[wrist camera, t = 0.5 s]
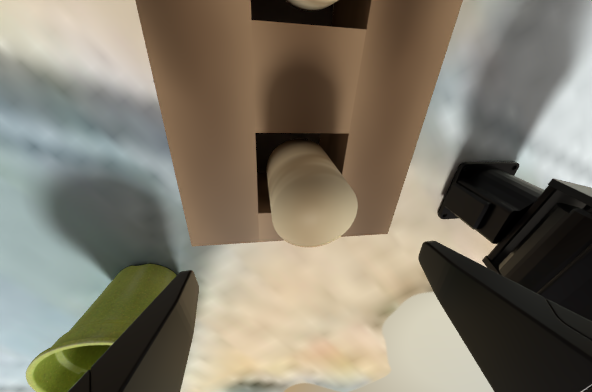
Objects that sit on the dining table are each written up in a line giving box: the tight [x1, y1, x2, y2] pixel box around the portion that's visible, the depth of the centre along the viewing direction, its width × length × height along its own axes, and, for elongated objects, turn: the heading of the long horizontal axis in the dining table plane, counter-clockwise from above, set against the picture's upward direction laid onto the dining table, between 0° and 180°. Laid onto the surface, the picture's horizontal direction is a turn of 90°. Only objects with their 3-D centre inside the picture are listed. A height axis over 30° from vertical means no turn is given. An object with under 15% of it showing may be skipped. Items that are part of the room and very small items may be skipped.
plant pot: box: [26, 264, 177, 392], centre depth 21 cm, size 9×9×9 cm
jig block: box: [136, 0, 463, 246], centre depth 14 cm, size 14×20×6 cm
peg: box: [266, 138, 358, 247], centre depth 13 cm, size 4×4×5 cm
